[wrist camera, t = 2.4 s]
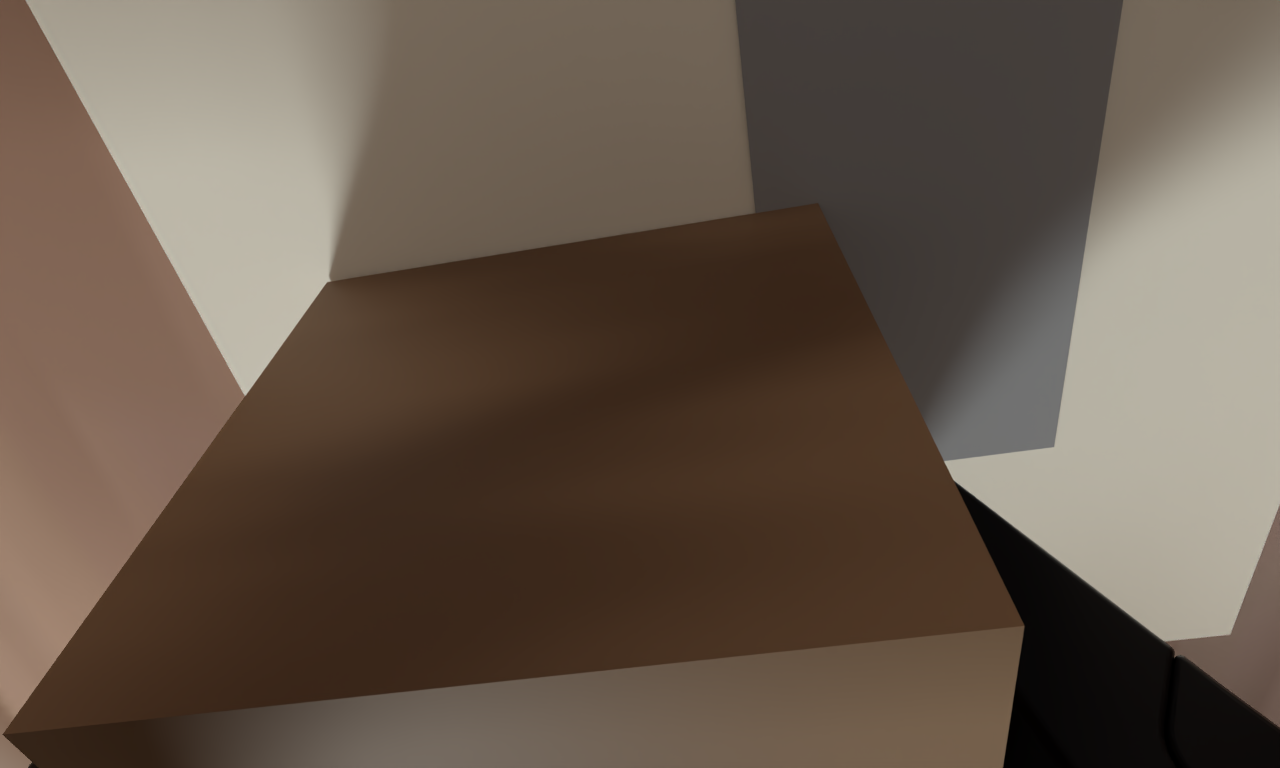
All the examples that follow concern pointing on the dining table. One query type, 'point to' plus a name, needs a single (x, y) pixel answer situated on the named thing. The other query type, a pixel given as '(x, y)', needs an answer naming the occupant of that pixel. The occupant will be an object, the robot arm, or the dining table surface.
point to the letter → (783, 178)
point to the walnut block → (560, 535)
